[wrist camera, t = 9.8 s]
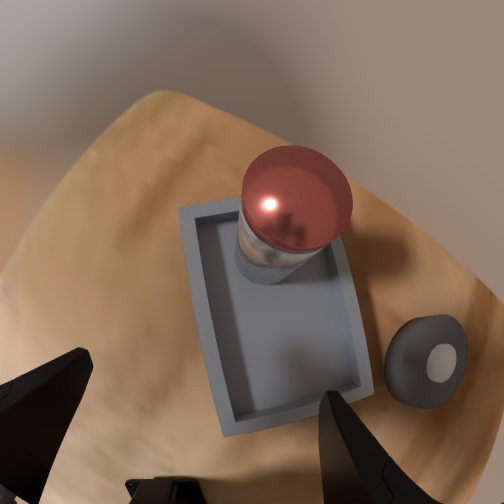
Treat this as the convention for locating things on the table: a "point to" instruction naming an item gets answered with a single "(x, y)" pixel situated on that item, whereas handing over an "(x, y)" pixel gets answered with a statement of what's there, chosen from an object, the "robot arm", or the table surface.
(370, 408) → the table surface
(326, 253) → the tray
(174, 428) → the table surface
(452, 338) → the trolley wheel
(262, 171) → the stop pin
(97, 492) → the table surface
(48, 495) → the table surface
